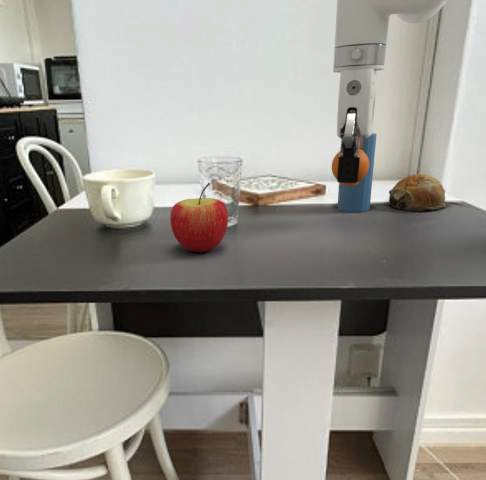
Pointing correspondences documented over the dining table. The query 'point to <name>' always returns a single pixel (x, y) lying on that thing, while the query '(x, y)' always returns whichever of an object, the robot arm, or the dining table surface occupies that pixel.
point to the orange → (362, 166)
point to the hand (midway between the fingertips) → (349, 178)
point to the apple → (199, 223)
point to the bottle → (359, 184)
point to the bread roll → (418, 193)
